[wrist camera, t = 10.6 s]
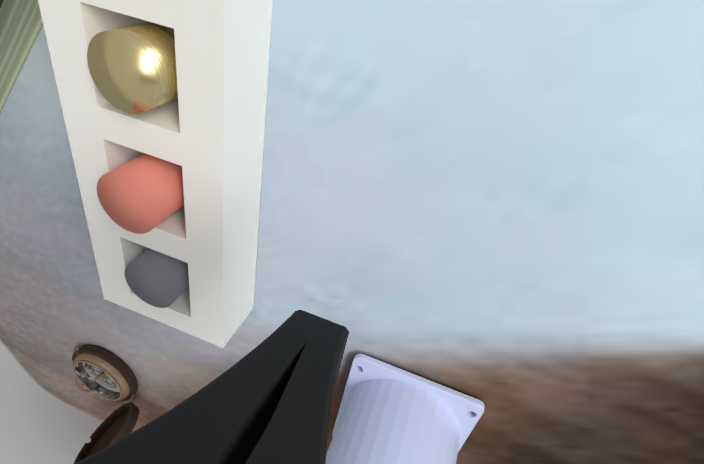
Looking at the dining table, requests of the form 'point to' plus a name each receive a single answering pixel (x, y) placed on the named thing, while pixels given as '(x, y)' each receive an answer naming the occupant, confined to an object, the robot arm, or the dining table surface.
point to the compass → (106, 394)
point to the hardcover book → (16, 39)
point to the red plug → (141, 193)
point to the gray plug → (157, 278)
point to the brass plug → (134, 66)
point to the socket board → (176, 149)
